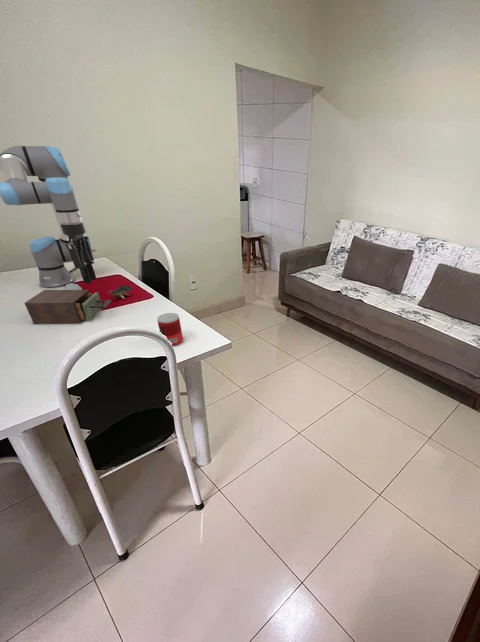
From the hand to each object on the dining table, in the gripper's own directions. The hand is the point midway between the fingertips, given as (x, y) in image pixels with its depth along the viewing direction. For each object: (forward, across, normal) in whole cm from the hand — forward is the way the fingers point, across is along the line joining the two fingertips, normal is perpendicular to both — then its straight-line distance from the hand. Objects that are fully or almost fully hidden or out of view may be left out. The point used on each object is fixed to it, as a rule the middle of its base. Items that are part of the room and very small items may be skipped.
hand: (90, 281), depth 138 cm
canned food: (+17, -24, -37) cm, 47 cm away
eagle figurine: (+17, +20, -2) cm, 26 cm away
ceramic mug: (+17, +18, +19) cm, 31 cm away
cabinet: (+17, 0, +16) cm, 23 cm away
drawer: (+16, 0, +8) cm, 17 cm away
